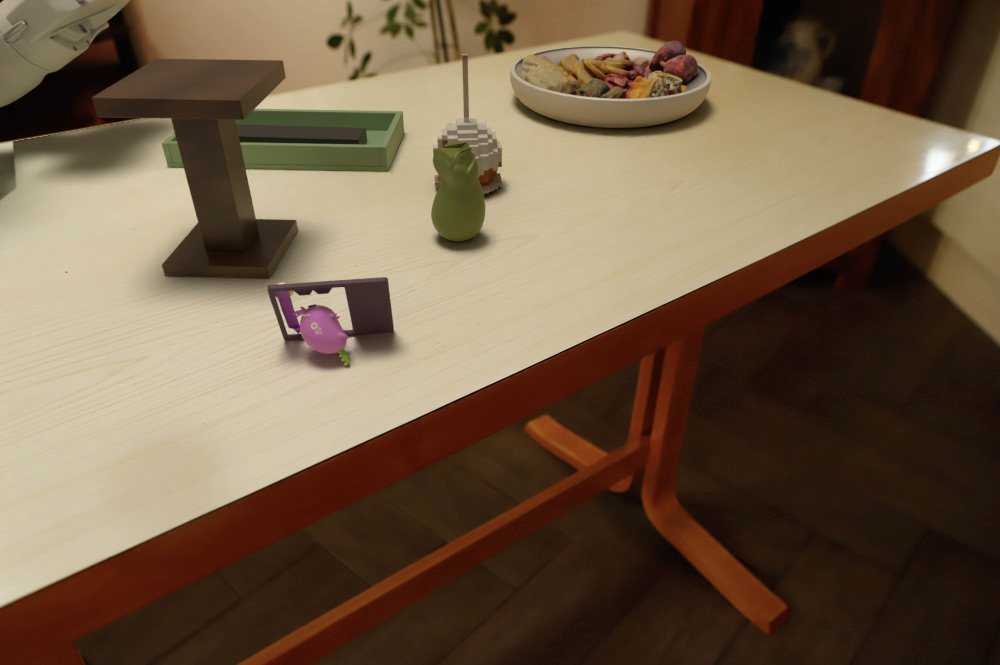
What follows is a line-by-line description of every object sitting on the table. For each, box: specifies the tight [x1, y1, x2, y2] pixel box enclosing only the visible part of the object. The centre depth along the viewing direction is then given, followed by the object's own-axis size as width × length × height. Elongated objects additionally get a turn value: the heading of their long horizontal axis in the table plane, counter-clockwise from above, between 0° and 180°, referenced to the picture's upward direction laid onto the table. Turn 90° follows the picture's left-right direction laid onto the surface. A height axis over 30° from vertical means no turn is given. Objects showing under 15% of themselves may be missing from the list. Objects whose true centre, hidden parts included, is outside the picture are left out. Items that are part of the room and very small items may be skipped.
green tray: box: [161, 108, 405, 172], centre depth 94 cm, size 28×14×3 cm, turn 88°
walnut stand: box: [91, 58, 299, 279], centre depth 67 cm, size 12×12×17 cm
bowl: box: [509, 40, 712, 129], centre depth 109 cm, size 30×30×8 cm
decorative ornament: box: [432, 53, 503, 195], centre depth 81 cm, size 8×8×15 cm
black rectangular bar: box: [236, 124, 367, 145], centre depth 94 cm, size 20×4×2 cm, turn 86°
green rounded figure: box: [430, 141, 486, 242], centre depth 72 cm, size 6×5×10 cm
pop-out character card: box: [267, 276, 395, 366], centre depth 56 cm, size 7×5×9 cm
